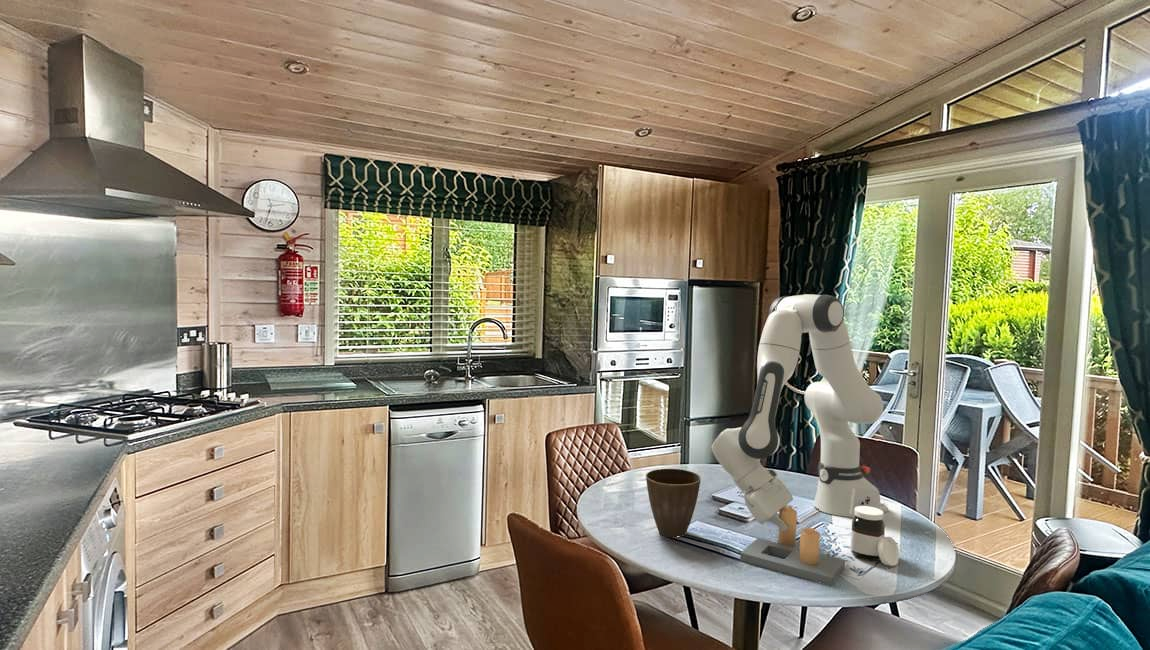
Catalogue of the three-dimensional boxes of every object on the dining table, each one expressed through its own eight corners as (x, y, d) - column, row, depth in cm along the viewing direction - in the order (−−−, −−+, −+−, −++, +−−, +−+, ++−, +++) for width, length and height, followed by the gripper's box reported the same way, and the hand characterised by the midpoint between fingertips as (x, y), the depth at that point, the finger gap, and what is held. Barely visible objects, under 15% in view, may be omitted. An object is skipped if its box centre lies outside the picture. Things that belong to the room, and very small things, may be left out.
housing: (740, 560, 162) (741, 521, 161) (757, 545, 171) (758, 508, 171) (831, 586, 149) (833, 543, 148) (844, 568, 158) (846, 528, 158)
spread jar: (853, 544, 173) (855, 502, 172) (900, 554, 167) (902, 510, 167) (846, 560, 163) (849, 515, 162) (897, 571, 157) (899, 524, 156)
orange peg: (788, 539, 176) (789, 503, 175) (799, 546, 171) (800, 509, 171) (774, 541, 174) (776, 505, 173) (785, 548, 170) (786, 510, 169)
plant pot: (669, 548, 169) (670, 487, 168) (633, 529, 181) (634, 473, 180) (710, 536, 177) (712, 479, 176) (673, 519, 189) (675, 465, 188)
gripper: (749, 486, 167) (785, 532, 162) (776, 468, 184) (810, 509, 179) (732, 499, 170) (767, 544, 165) (760, 480, 187) (793, 521, 182)
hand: (789, 526), depth 172 cm, fingers closed on orange peg, 4 cm apart
